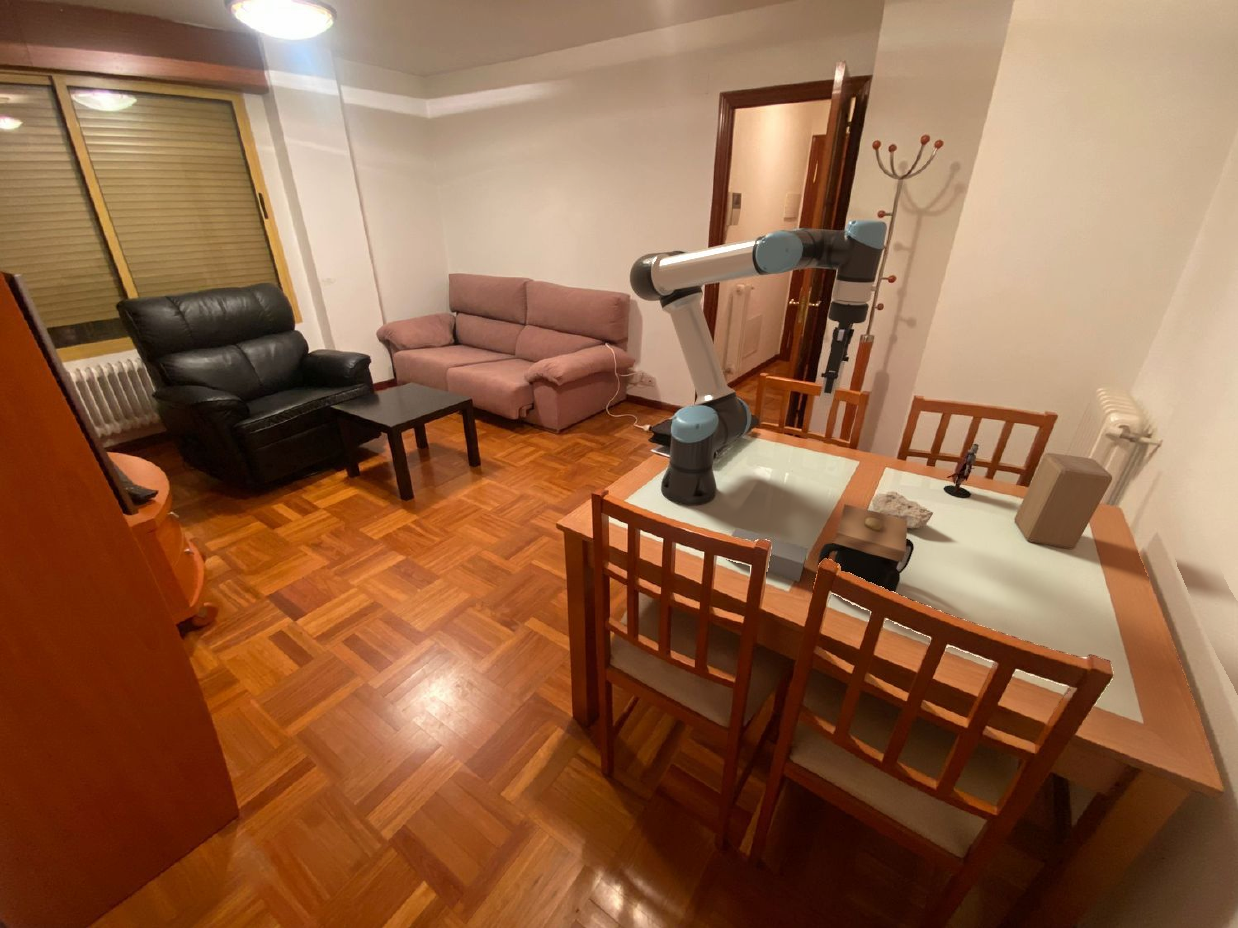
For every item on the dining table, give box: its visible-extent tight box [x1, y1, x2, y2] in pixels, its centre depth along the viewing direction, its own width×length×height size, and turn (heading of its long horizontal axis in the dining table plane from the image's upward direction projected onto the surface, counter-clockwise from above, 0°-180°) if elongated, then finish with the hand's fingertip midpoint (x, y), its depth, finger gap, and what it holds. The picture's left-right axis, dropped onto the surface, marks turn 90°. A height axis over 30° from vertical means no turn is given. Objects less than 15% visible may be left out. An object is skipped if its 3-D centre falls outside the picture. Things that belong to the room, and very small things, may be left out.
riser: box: [731, 527, 809, 583], centre depth 110 cm, size 16×6×5 cm, turn 62°
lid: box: [833, 503, 908, 562], centre depth 100 cm, size 12×12×4 cm
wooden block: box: [1014, 452, 1113, 550], centre depth 118 cm, size 10×10×20 cm
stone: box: [871, 490, 934, 529], centre depth 125 cm, size 8×12×10 cm
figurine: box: [943, 443, 979, 499], centre depth 137 cm, size 7×7×15 cm
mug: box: [817, 538, 915, 593], centre depth 103 cm, size 16×16×12 cm
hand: (828, 396), depth 115 cm, fingers open, 13 cm apart
